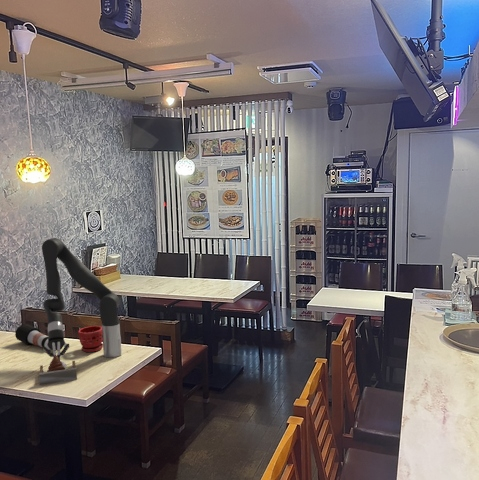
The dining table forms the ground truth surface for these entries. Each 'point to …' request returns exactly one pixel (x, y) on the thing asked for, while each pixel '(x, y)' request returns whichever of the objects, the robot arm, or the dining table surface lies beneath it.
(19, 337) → the cable
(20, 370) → the dining table surface
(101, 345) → the plant pot
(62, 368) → the poop emoji
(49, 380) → the guide channel
